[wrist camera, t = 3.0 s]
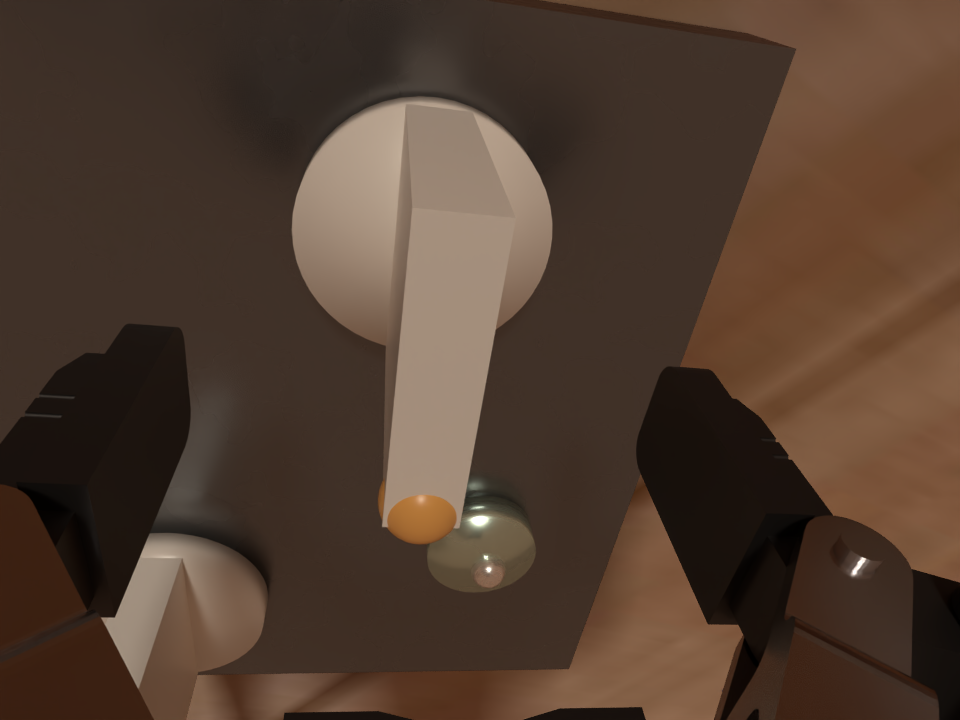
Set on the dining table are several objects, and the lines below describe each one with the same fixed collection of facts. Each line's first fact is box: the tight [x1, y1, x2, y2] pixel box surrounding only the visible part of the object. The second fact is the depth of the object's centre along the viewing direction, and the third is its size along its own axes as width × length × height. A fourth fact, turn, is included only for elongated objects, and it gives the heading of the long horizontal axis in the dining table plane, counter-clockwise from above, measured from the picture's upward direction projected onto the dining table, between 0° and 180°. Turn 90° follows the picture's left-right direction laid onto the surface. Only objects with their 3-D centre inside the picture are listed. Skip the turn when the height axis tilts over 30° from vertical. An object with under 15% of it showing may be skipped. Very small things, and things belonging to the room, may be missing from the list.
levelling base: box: [0, 0, 796, 675], centre depth 20 cm, size 24×22×4 cm
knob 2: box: [292, 96, 552, 544], centre depth 13 cm, size 7×6×7 cm
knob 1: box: [101, 533, 268, 720], centre depth 20 cm, size 7×6×7 cm
